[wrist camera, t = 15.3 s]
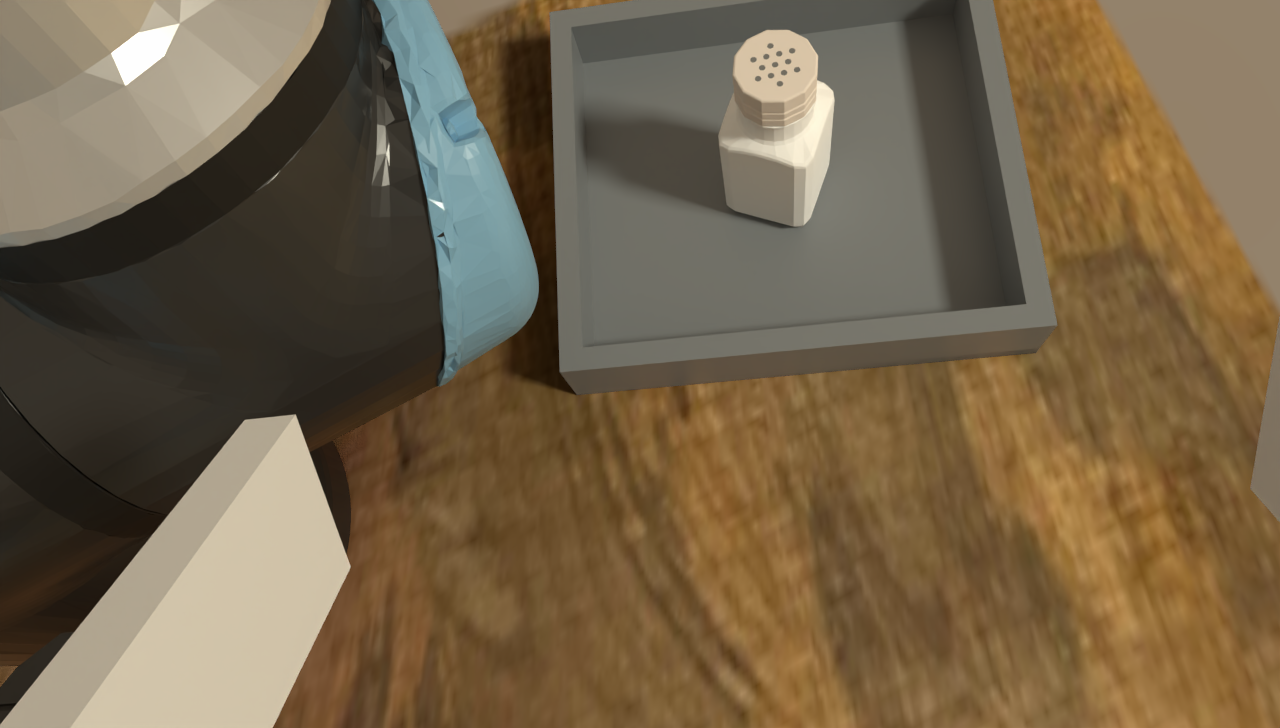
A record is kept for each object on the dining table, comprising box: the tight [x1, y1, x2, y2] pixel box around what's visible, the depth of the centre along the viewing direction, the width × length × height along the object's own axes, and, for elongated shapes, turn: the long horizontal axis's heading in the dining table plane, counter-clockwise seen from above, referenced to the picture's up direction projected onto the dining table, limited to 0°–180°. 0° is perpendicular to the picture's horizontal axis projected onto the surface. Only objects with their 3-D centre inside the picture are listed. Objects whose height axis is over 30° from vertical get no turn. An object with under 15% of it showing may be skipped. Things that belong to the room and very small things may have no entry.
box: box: [550, 0, 1057, 395], centre depth 44 cm, size 20×18×4 cm
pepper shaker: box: [718, 30, 835, 227], centre depth 40 cm, size 4×4×10 cm
